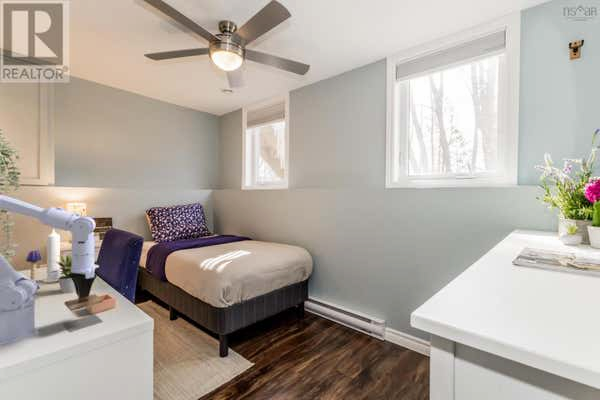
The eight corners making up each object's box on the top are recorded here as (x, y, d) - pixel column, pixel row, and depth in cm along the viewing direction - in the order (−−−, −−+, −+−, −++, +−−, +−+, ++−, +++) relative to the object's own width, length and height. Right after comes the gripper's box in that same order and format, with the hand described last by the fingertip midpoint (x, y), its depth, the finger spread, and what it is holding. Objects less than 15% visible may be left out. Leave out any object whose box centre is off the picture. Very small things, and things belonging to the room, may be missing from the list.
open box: (91, 315, 91) (91, 304, 91) (85, 310, 95) (85, 299, 95) (115, 308, 96) (115, 298, 96) (108, 303, 101) (108, 293, 101)
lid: (71, 311, 80) (70, 292, 80) (64, 304, 85) (63, 286, 84) (102, 302, 86) (102, 284, 86) (94, 296, 91) (94, 279, 91)
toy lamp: (40, 286, 118) (40, 249, 117) (42, 289, 115) (42, 251, 114) (25, 289, 114) (25, 251, 114) (26, 292, 111) (26, 253, 111)
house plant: (34, 295, 108) (33, 255, 108) (70, 284, 121) (70, 249, 121) (60, 298, 105) (60, 258, 104) (94, 287, 118) (94, 251, 118)
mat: (69, 333, 79) (69, 332, 79) (62, 324, 84) (62, 323, 84) (103, 322, 86) (103, 321, 86) (94, 315, 91) (94, 314, 91)
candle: (47, 279, 128) (47, 228, 127) (65, 277, 131) (65, 227, 130) (40, 283, 121) (40, 230, 121) (60, 281, 124) (60, 229, 124)
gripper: (105, 255, 84) (105, 297, 84) (91, 249, 92) (91, 287, 93) (77, 259, 78) (77, 304, 78) (64, 252, 87) (64, 293, 87)
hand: (83, 295), depth 85 cm, fingers closed on lid, 3 cm apart
